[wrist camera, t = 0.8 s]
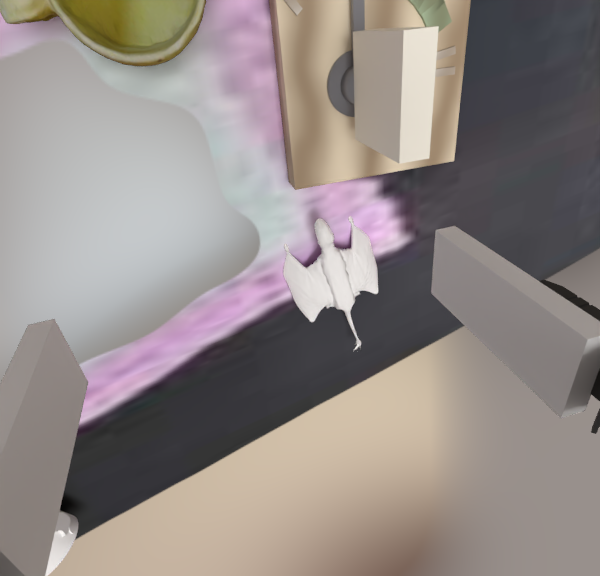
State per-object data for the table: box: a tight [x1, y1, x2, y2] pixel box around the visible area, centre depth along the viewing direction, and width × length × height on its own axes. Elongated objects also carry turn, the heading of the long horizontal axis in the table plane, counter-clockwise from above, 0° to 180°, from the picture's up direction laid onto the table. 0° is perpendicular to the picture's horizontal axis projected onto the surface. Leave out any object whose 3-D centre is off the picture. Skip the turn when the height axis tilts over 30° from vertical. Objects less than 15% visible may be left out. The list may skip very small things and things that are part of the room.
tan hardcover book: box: [269, 0, 471, 190], centre depth 34 cm, size 16×22×3 cm
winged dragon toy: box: [283, 216, 378, 351], centre depth 46 cm, size 18×10×4 cm, turn 18°
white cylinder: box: [45, 510, 78, 576], centre depth 49 cm, size 12×9×8 cm
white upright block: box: [327, 0, 439, 164], centre depth 29 cm, size 5×12×10 cm, turn 5°
